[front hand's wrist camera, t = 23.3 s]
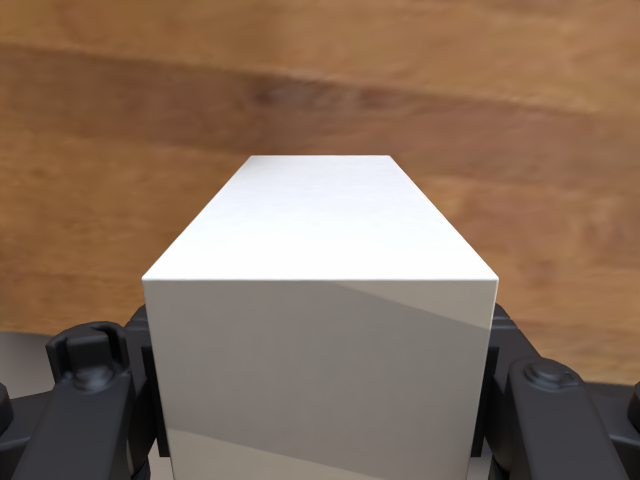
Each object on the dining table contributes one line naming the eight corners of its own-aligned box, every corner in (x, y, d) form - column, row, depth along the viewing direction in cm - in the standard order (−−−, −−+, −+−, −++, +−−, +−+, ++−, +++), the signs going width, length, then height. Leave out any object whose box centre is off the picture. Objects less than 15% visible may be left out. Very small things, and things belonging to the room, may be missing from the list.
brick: (250, 155, 16) (139, 277, 6) (389, 155, 16) (500, 277, 6) (259, 313, 18) (189, 584, 9) (380, 313, 18) (450, 585, 9)
